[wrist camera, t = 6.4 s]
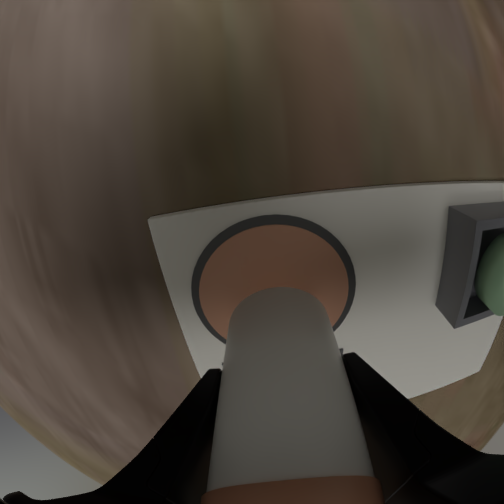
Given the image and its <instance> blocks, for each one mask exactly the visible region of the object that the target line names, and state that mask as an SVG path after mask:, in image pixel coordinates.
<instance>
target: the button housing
mask: <svg viewBox="0 0 504 504" xmlns="http://www.w3.org/2000/svg"><path fill="white" fill-rule="evenodd" d="M502 233H504V202H491V203H478V204H466V205H454V206H449V207H448V222H447V233H446V243H445V251H444V258H443V265H442V272H441V277H440V283H439V288H438V293H437V298H436V303H435V306H436V307H437V308H438V310H439V311H440V312H441V313H442V314H443V316H444V317H445V318H446V319H447V321H448V322H449V323H450V324H451V326H452V327H453V328H454V329H456V328H459V327H462V326H465V325H467V324H470V323H473V322H476V321H478V320H481V319H484V318H486V317H489V316H491V315H494V313H493V312H492V311H491V310H490V309H489V308H488V307H487V306H486V305H485V304H484V303H483V302H482V301H481V300H480V299H479V298H478V296H477V294H476V291H475V277H476V273H477V269H478V266H479V263H480V261H481V258H482V256H483V254H484V253H485V251H486V249H487V248H488V246H489V245H490V244H491V242H492V241H493V240H494V239H495V238H496V237H497V236H499V235H500V234H502Z"/></svg>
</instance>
